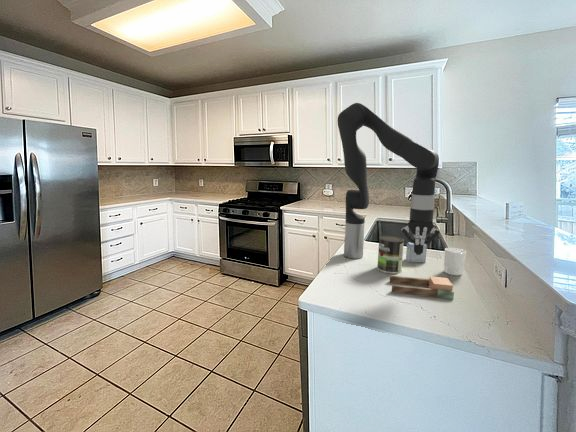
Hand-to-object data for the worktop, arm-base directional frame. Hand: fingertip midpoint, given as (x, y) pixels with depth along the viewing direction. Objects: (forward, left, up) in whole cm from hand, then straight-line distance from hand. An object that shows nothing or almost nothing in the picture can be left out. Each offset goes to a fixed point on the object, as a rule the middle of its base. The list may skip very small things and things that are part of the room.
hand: (418, 254), depth 104 cm
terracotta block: (+8, -1, -13) cm, 16 cm away
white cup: (+18, +21, -14) cm, 31 cm away
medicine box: (+5, +33, -14) cm, 37 cm away
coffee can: (-8, +18, -14) cm, 24 cm away
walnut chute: (+1, -1, -13) cm, 13 cm away
